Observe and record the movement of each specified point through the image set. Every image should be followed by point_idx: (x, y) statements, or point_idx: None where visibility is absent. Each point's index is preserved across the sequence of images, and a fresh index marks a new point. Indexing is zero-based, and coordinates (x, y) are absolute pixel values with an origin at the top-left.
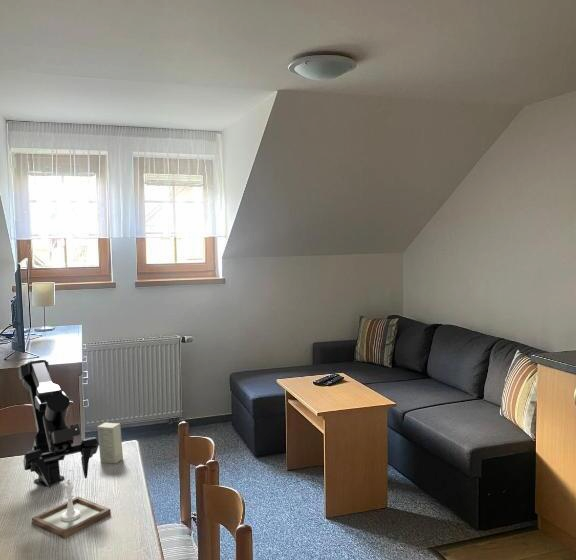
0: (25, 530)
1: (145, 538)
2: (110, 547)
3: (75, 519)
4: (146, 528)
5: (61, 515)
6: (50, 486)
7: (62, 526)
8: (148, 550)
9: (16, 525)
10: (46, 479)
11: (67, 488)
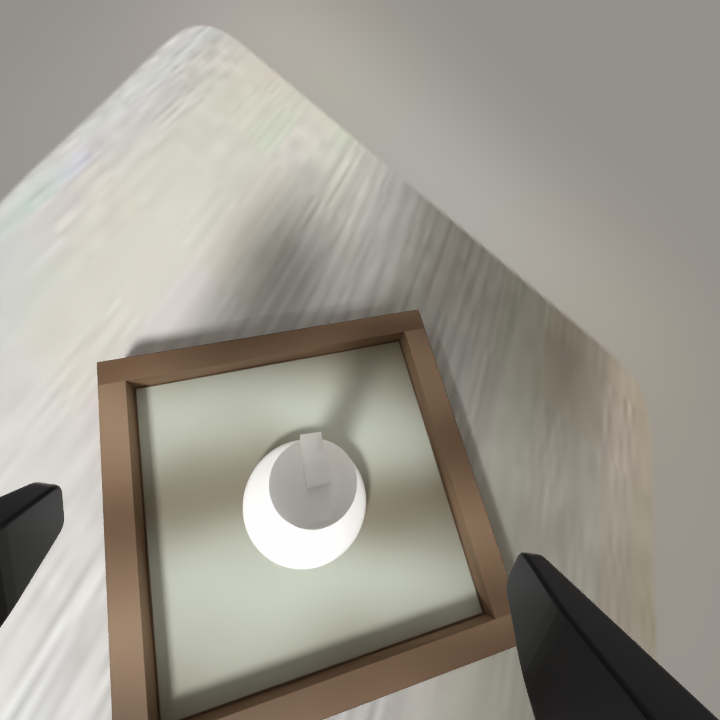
0: None
1: (156, 98)
2: (291, 142)
3: None
4: (95, 145)
5: (360, 523)
6: (520, 555)
7: (387, 418)
8: (204, 45)
9: None
10: (619, 631)
11: (342, 452)
